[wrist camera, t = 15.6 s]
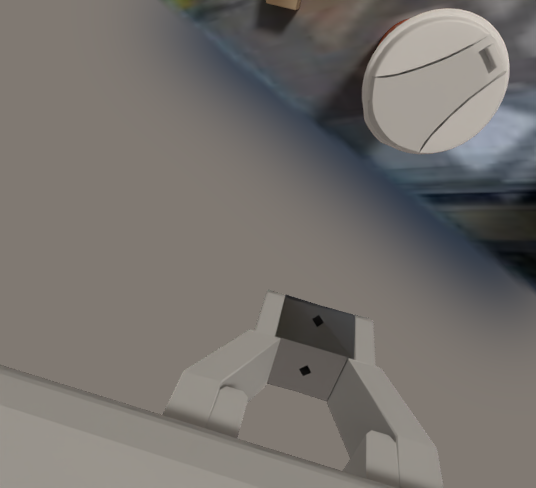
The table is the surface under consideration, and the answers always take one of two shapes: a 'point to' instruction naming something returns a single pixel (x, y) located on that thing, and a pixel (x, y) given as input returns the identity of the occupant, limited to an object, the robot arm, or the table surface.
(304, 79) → the table surface
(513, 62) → the table surface
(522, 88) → the table surface
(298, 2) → the block
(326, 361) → the robot arm
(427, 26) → the paper cup
